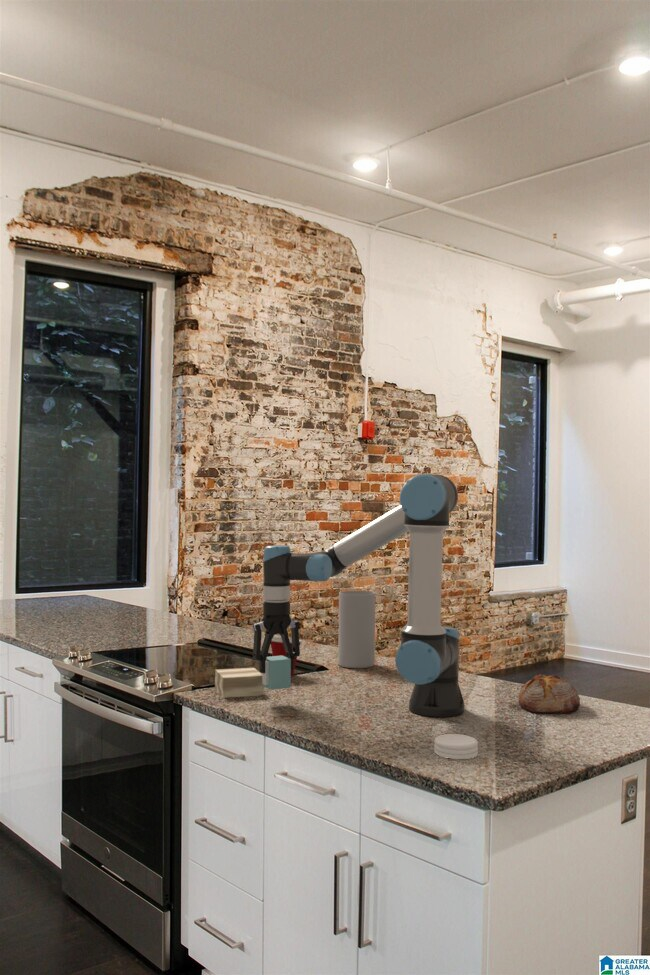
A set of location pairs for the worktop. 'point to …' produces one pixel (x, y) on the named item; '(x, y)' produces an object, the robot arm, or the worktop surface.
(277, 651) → the plastic cup
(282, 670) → the teal block
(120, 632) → the worktop surface
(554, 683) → the bread
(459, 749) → the coaster
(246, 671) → the birch block
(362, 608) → the cylinder vase
